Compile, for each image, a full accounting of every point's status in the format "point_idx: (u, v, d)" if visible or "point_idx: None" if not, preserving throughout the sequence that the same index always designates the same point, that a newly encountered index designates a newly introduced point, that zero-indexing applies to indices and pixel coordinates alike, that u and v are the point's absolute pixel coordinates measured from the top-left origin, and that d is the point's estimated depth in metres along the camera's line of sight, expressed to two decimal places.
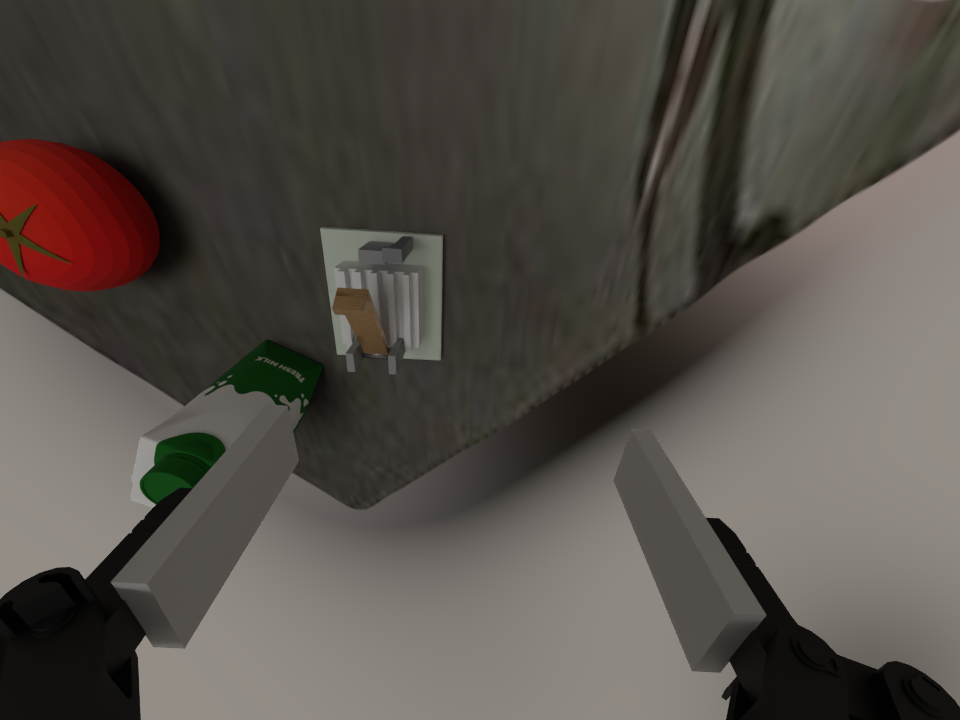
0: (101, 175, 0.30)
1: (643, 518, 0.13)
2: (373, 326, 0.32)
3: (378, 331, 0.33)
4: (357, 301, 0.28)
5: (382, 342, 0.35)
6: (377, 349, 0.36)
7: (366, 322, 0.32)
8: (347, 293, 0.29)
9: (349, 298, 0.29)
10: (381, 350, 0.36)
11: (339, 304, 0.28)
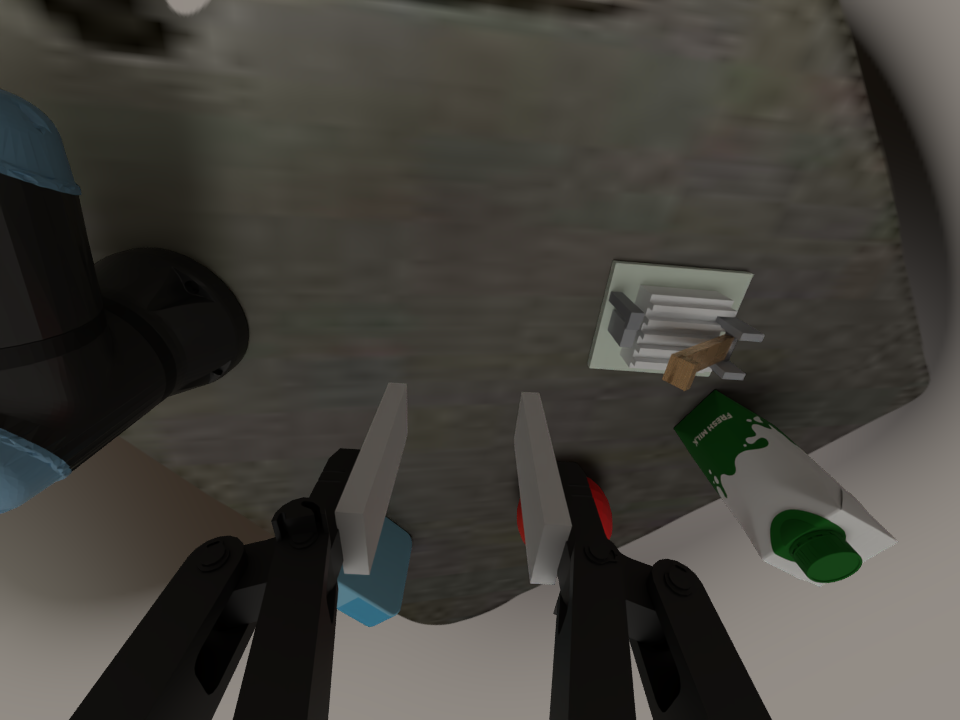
0: None
1: (521, 467, 0.14)
2: (705, 351, 0.32)
3: (710, 346, 0.32)
4: (682, 367, 0.30)
5: (721, 342, 0.33)
6: (726, 347, 0.35)
7: (699, 357, 0.32)
8: (671, 373, 0.31)
9: (677, 373, 0.30)
10: (728, 343, 0.35)
11: (681, 383, 0.30)
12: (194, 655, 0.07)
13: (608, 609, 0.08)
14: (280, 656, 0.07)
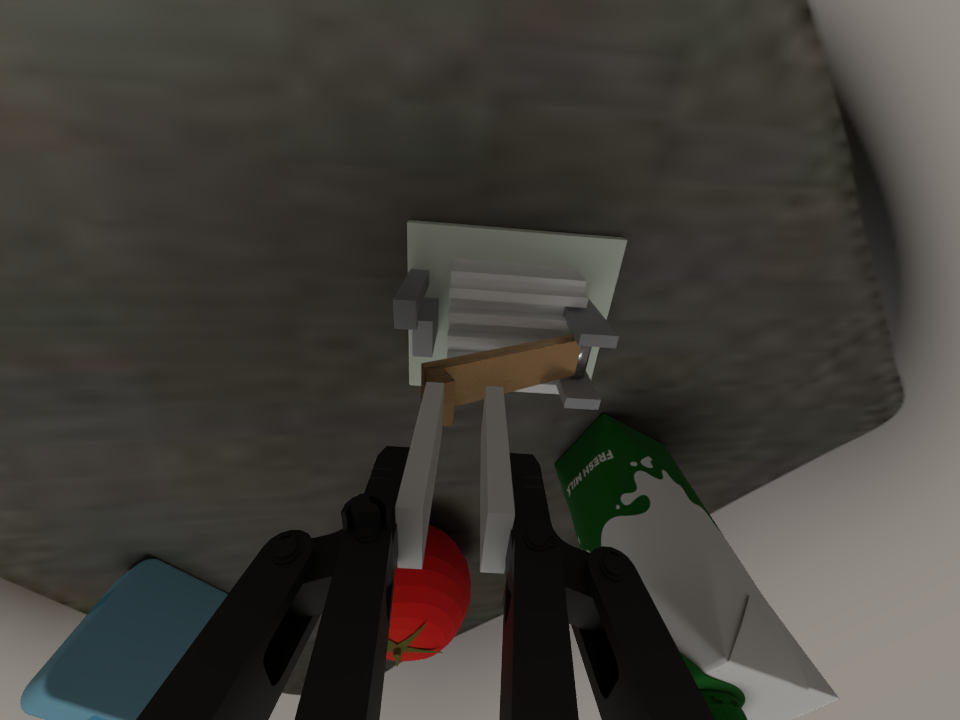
0: None
1: (482, 459, 0.15)
2: (505, 361, 0.19)
3: (518, 353, 0.19)
4: None
5: (548, 347, 0.20)
6: (566, 355, 0.21)
7: (494, 371, 0.19)
8: None
9: None
10: (570, 349, 0.21)
11: None
12: (264, 647, 0.08)
13: (548, 595, 0.09)
14: (343, 647, 0.07)
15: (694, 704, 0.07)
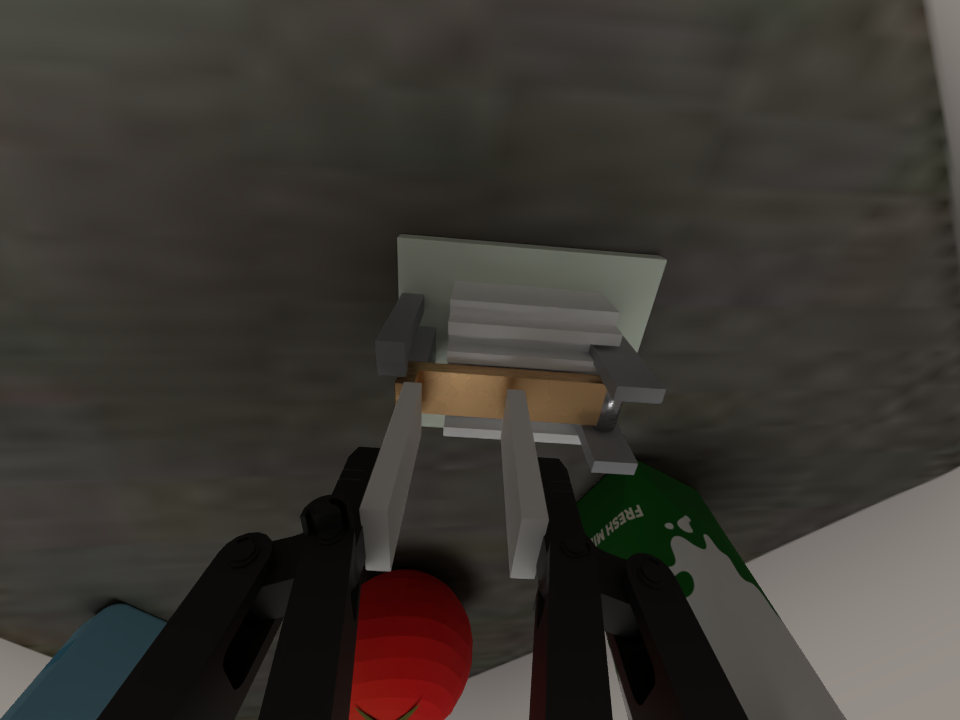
0: None
1: (505, 463, 0.14)
2: (493, 382, 0.17)
3: (511, 378, 0.17)
4: None
5: (555, 382, 0.17)
6: (583, 398, 0.17)
7: (479, 390, 0.17)
8: None
9: None
10: (588, 392, 0.17)
11: None
12: (223, 650, 0.07)
13: (583, 602, 0.08)
14: (306, 651, 0.07)
15: (735, 719, 0.07)
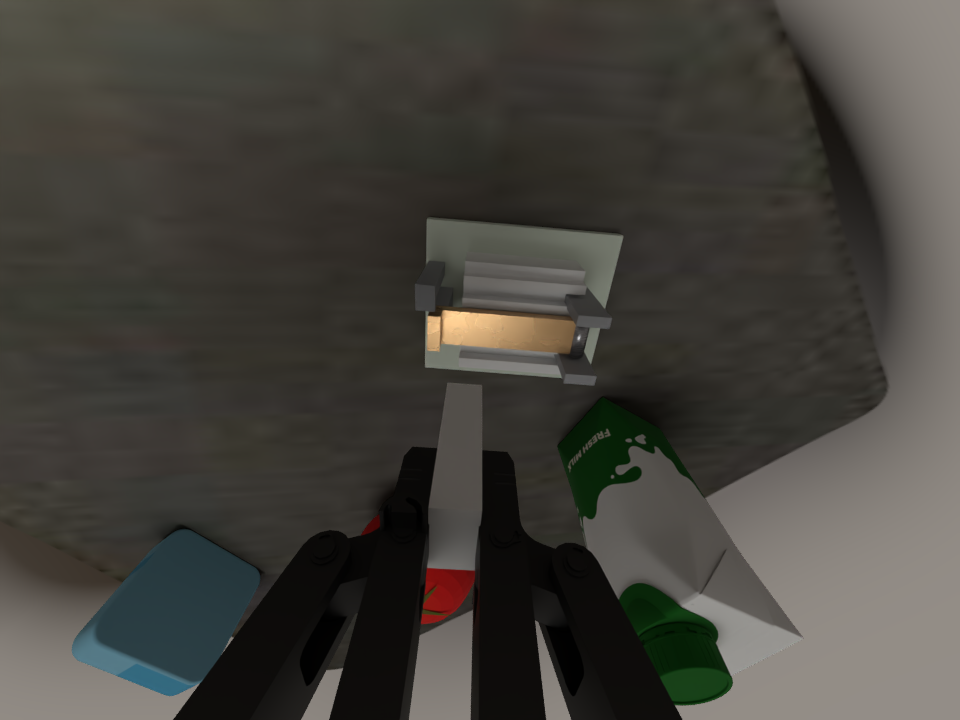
0: None
1: None
2: (495, 319, 0.24)
3: (508, 316, 0.24)
4: None
5: (538, 319, 0.24)
6: (558, 332, 0.25)
7: (485, 325, 0.24)
8: None
9: None
10: (562, 327, 0.24)
11: None
12: (301, 647, 0.08)
13: (513, 590, 0.09)
14: (378, 646, 0.07)
15: (656, 694, 0.07)
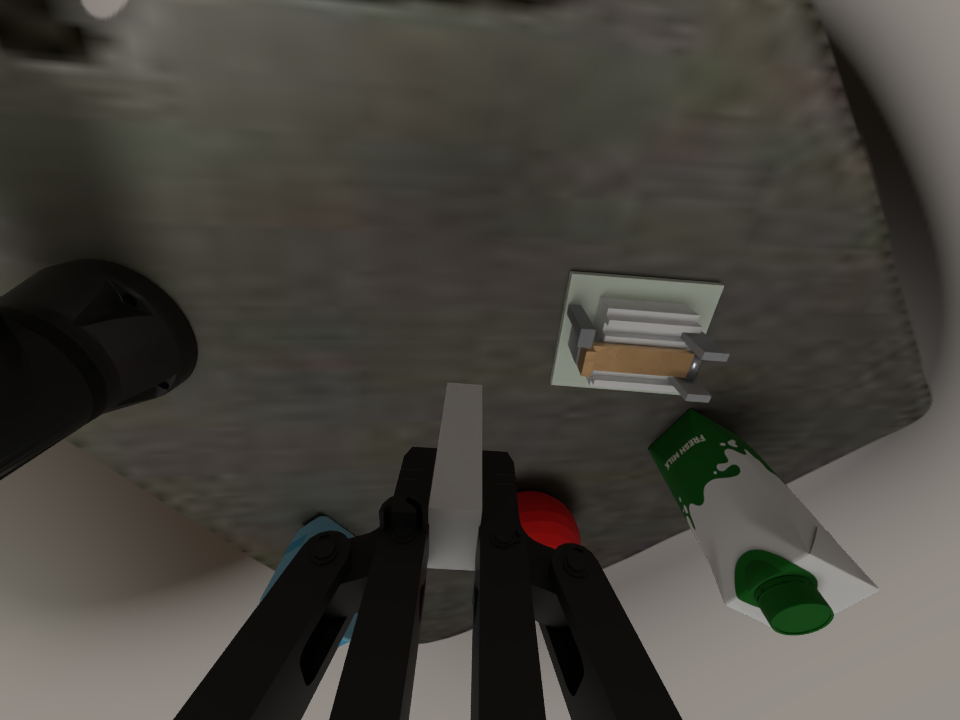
0: None
1: None
2: (632, 352, 0.32)
3: (642, 350, 0.32)
4: (583, 353, 0.32)
5: (665, 352, 0.32)
6: (679, 361, 0.32)
7: (623, 356, 0.32)
8: (579, 359, 0.33)
9: (581, 359, 0.32)
10: (683, 358, 0.32)
11: (581, 368, 0.32)
12: (301, 647, 0.08)
13: (514, 591, 0.09)
14: (378, 646, 0.07)
15: (656, 694, 0.07)
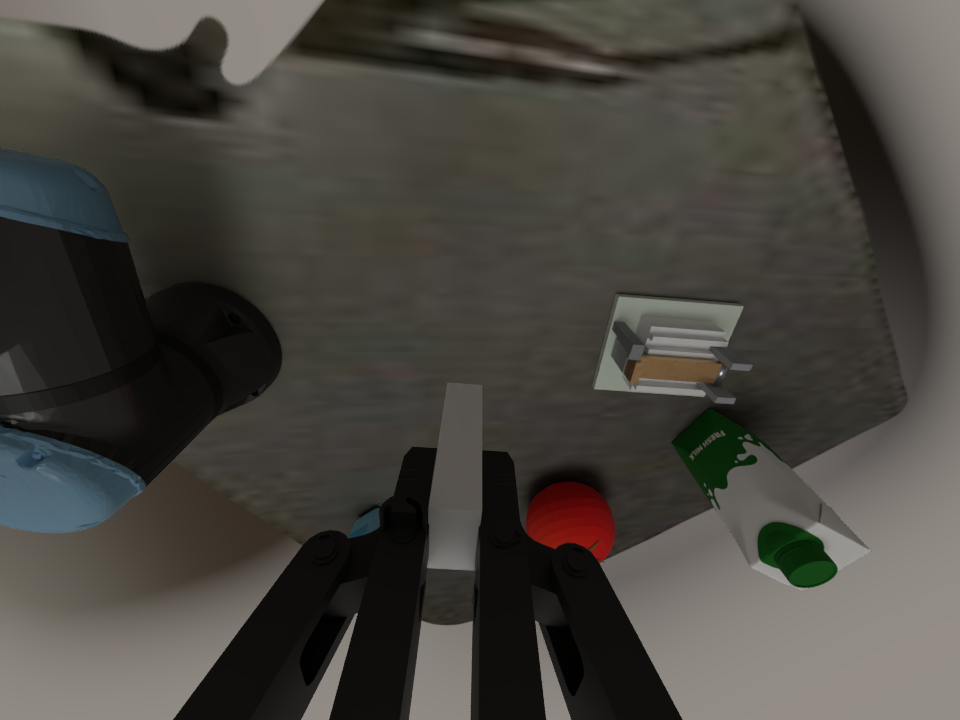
0: (548, 503, 0.49)
1: None
2: (671, 363, 0.39)
3: (679, 361, 0.39)
4: (631, 364, 0.38)
5: (698, 363, 0.39)
6: (709, 370, 0.39)
7: (664, 366, 0.39)
8: (627, 368, 0.39)
9: (629, 368, 0.39)
10: (712, 367, 0.39)
11: (629, 377, 0.39)
12: (301, 647, 0.08)
13: (513, 591, 0.09)
14: (378, 646, 0.07)
15: (656, 694, 0.07)
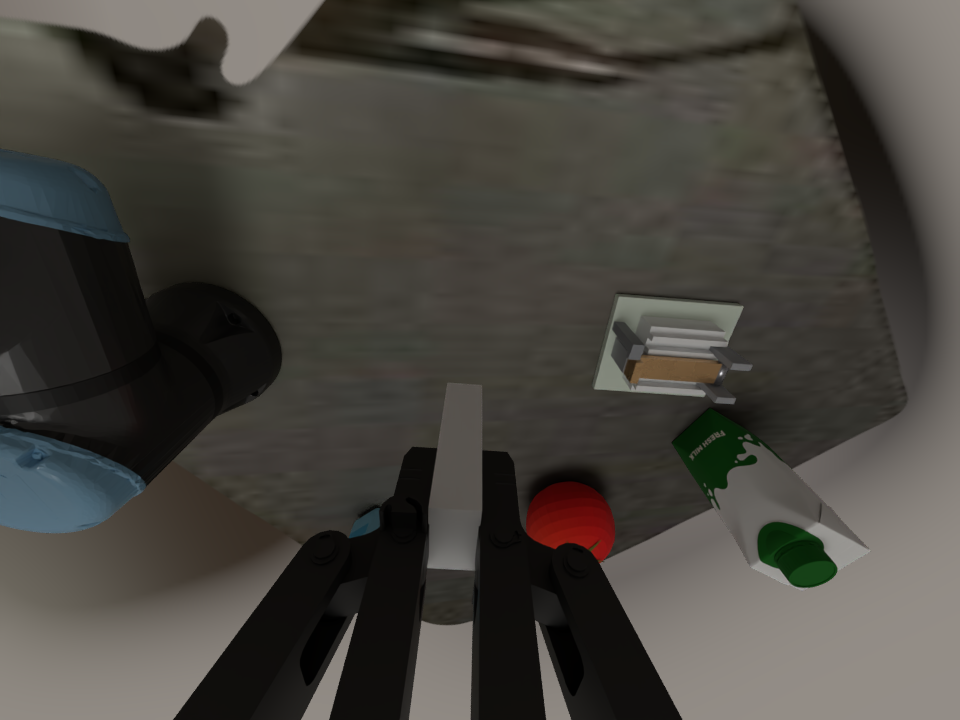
0: (548, 503, 0.49)
1: None
2: (671, 363, 0.39)
3: (679, 361, 0.39)
4: (631, 364, 0.38)
5: (698, 363, 0.39)
6: (709, 370, 0.39)
7: (664, 366, 0.39)
8: (627, 368, 0.39)
9: (629, 368, 0.39)
10: (712, 367, 0.39)
11: (629, 377, 0.39)
12: (301, 647, 0.08)
13: (513, 591, 0.09)
14: (378, 646, 0.07)
15: (656, 694, 0.07)
